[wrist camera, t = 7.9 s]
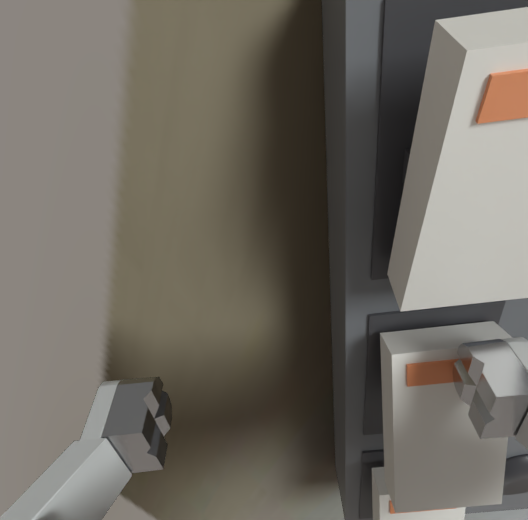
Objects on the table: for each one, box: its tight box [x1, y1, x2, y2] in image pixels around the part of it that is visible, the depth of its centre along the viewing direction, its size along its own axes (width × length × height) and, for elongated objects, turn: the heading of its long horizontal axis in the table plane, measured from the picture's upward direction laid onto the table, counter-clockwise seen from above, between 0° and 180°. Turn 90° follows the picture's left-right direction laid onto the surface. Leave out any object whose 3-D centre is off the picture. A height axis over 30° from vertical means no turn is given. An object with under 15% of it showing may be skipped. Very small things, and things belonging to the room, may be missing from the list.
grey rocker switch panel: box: [322, 0, 528, 520], centre depth 15 cm, size 24×11×4 cm, turn 7°
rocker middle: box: [380, 321, 512, 513], centre depth 12 cm, size 6×3×1 cm, turn 7°
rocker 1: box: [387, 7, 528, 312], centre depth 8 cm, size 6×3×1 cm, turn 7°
